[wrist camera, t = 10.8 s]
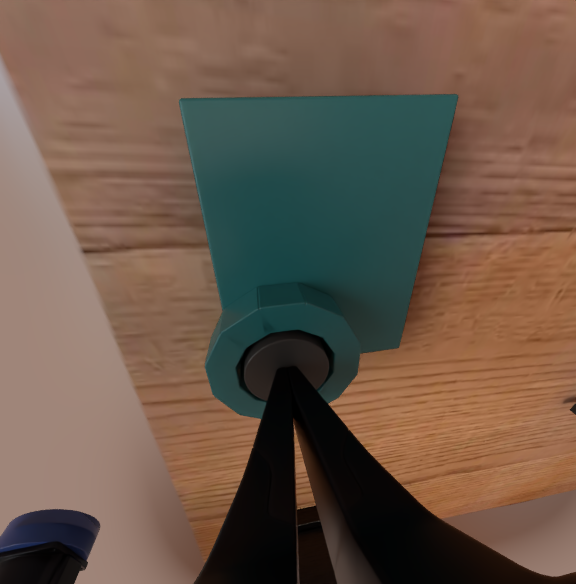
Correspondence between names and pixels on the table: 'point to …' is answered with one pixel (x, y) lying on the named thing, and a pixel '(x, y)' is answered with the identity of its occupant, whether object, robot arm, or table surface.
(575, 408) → the toy
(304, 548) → the bracket
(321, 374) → the button
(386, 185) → the button box
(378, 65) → the table surface
